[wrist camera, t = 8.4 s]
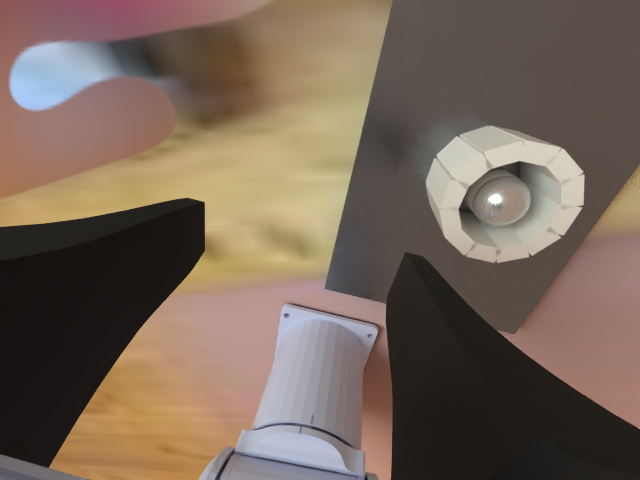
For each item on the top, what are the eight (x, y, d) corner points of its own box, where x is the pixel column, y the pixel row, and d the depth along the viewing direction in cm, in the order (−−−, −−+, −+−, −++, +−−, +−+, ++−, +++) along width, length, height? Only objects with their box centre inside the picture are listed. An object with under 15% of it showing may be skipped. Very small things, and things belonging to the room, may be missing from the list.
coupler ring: (559, 139, 15) (615, 158, 11) (505, 234, 18) (537, 273, 14) (449, 117, 15) (472, 128, 12) (413, 214, 18) (423, 246, 15)
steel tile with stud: (508, 323, 22) (543, 387, 18) (326, 280, 23) (315, 331, 18) (751, -22, 12) (978, -80, 8) (412, -84, 13) (436, -171, 8)
